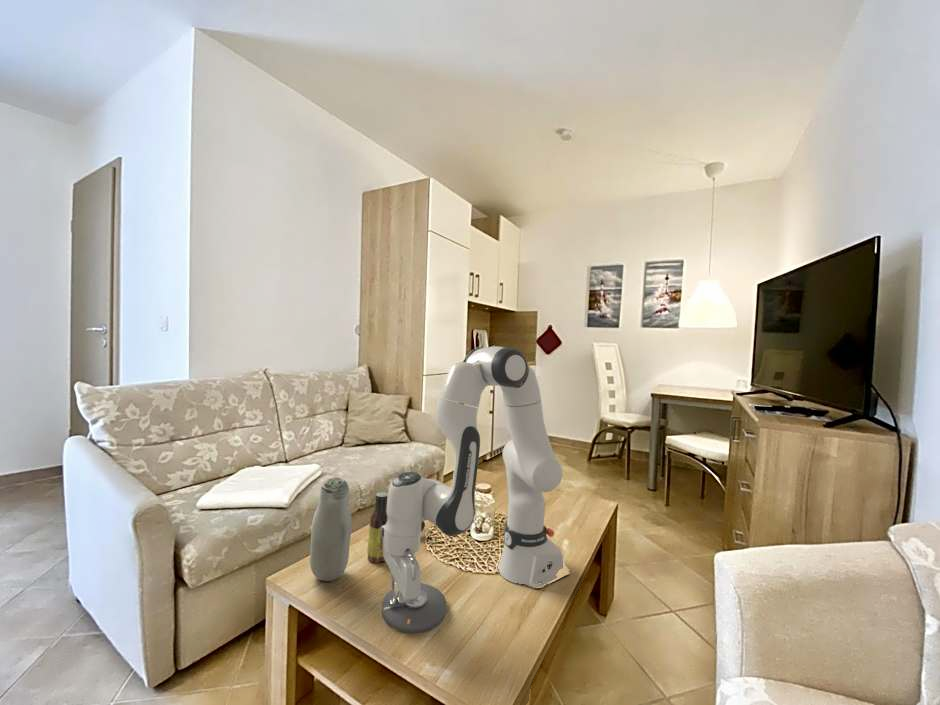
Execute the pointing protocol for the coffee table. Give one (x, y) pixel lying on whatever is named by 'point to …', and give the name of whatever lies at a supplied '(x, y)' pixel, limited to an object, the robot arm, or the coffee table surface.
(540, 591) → the coffee table surface
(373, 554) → the sauce bottle
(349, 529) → the grey bottle
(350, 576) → the coffee table surface
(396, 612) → the dial plate
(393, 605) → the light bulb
